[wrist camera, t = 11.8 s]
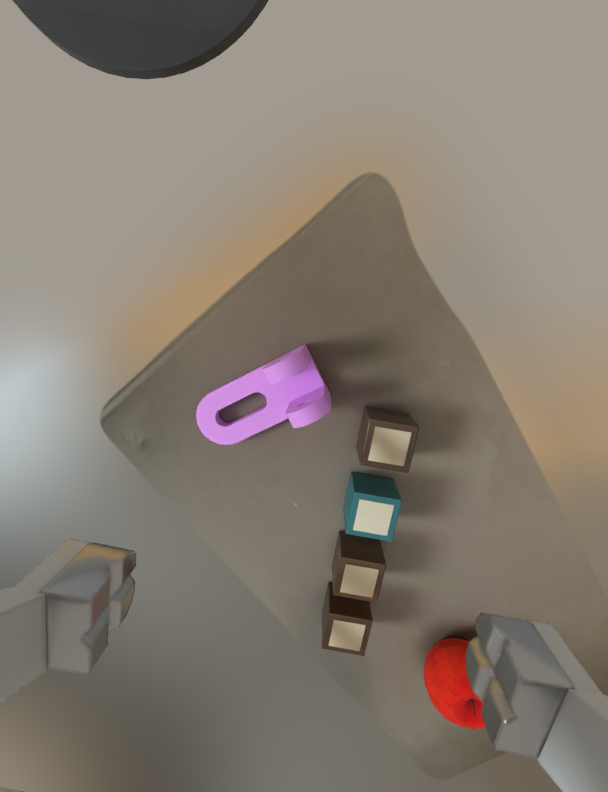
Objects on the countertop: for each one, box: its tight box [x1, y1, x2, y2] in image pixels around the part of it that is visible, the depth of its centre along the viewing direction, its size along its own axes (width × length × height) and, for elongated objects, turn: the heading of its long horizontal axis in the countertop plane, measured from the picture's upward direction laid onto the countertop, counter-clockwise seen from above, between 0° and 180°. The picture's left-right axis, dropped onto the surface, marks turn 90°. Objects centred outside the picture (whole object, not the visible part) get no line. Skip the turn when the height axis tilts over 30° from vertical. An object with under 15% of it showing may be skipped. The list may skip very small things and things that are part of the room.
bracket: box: [196, 344, 332, 445], centre depth 33 cm, size 13×6×7 cm, turn 117°
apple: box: [424, 638, 486, 729], centre depth 38 cm, size 8×8×7 cm
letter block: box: [344, 472, 402, 542], centre depth 36 cm, size 4×4×4 cm
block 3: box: [356, 406, 419, 473], centre depth 35 cm, size 4×4×4 cm
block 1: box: [332, 531, 386, 603], centre depth 38 cm, size 4×4×4 cm
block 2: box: [322, 582, 373, 656], centre depth 39 cm, size 4×4×4 cm
